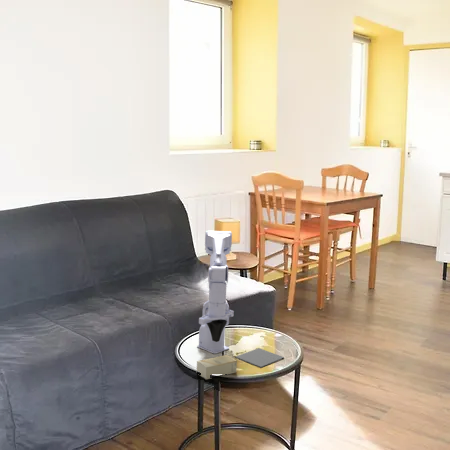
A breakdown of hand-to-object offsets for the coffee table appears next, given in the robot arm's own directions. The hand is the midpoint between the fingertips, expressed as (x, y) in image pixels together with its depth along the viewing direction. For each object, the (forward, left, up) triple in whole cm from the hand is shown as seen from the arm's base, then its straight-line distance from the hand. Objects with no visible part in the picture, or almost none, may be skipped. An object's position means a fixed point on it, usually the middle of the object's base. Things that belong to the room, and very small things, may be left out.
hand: (215, 340), depth 192 cm
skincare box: (+3, +5, -8) cm, 10 cm away
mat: (+3, +20, -10) cm, 23 cm away
